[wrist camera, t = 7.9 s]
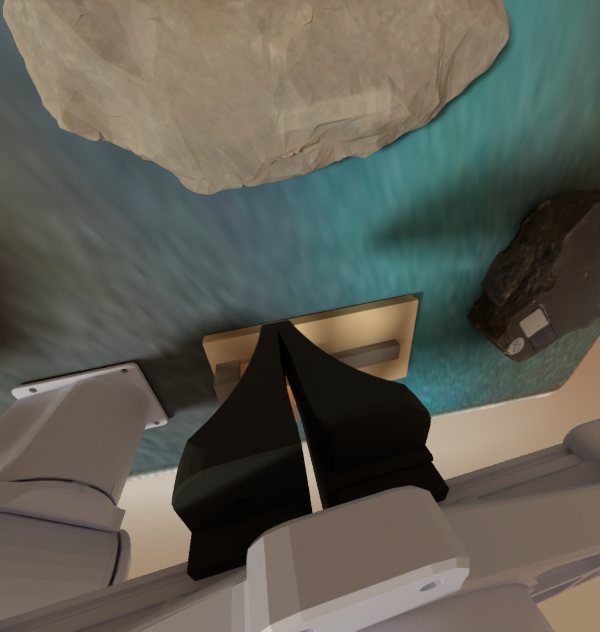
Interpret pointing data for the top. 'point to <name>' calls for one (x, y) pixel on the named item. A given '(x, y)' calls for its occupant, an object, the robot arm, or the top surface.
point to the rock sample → (544, 278)
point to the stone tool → (252, 76)
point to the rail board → (329, 341)
